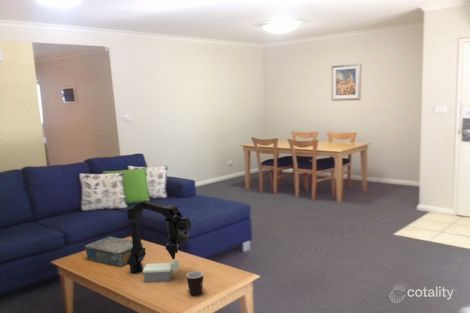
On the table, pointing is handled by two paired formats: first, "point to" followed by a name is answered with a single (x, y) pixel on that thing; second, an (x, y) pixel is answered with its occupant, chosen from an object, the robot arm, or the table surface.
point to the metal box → (110, 251)
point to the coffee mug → (195, 283)
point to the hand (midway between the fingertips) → (175, 256)
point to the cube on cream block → (161, 267)
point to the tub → (158, 276)
